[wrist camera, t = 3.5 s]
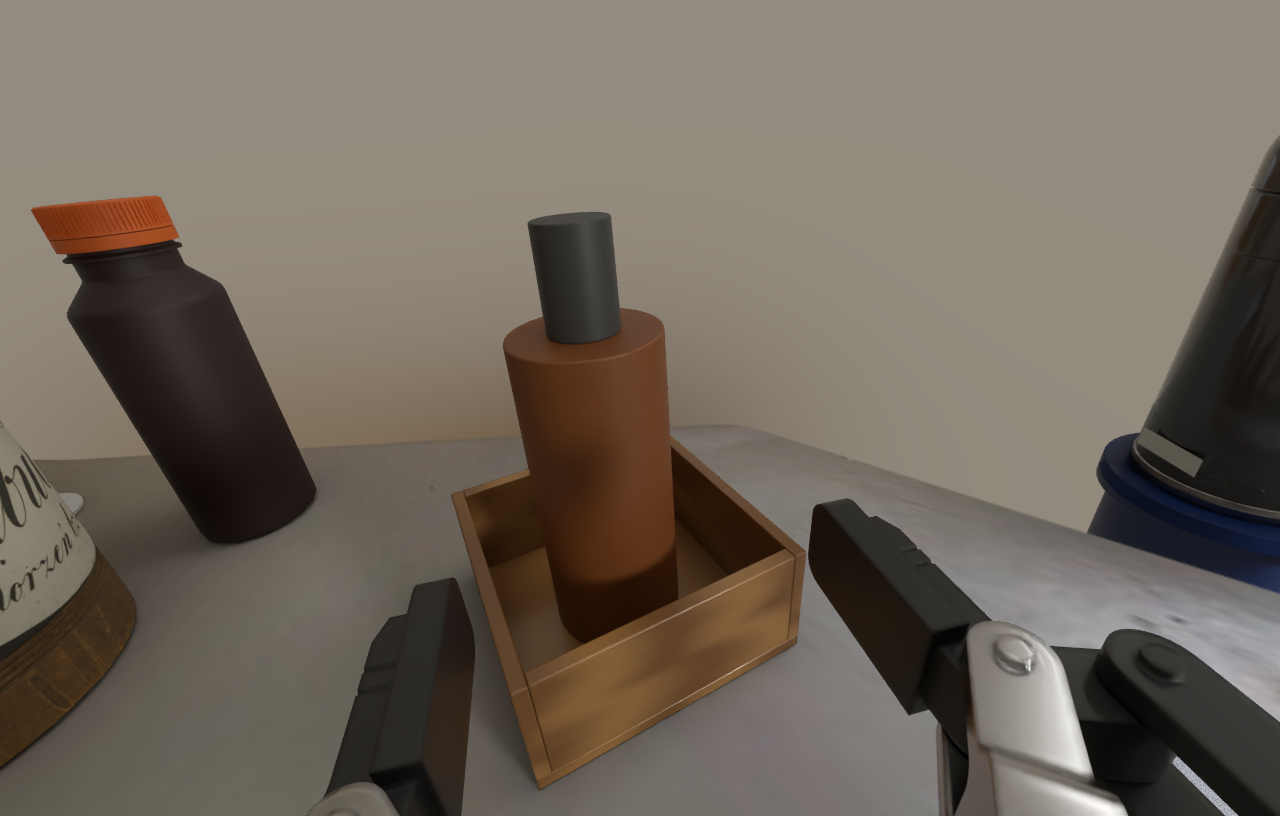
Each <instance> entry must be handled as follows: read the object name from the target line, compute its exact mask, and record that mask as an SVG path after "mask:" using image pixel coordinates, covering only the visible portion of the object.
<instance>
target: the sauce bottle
mask: <svg viewBox="0 0 1280 816" xmlns="http://www.w3.org/2000/svg"><path fill="white" fill-rule="evenodd" d="M528 229H529V235H530V241H531V247H532V253H533V259H534V265H535V271H536V277H537V283H538V289H539V295H540V301H541V307H542V313H543V317H541V318H538V319H535V320H532V321H530V322H527V323H525V324H523V325H521V326H519V327H517V328H516V329H514V330H513V331H511V332H510V333H509V334H508V335H507V336H506V338H505V339H504V342H503V349H504V354H505V359H506V364H507V368H508V373H509V378H510V383H511V387H512V392H513V397H514V401H515V406H516V411H517V415H518V420H519V425H520V430H521V434H522V439H523V444H524V449H525V453H526V458H527V463H528V468H529V472H530V477H531V482H532V487H533V491H534V496H535V501H536V506H537V510H538V515H539V520H540V524H541V529H542V534H543V539H544V543H545V548H546V553H547V558H548V562H549V567H550V572H551V576H552V581H553V586H554V591H555V595H556V600H557V605H558V610H559V614H560V617H561V620H562V622H563V624H564V626H565V627H566V629H567V630H568V631H569V632H570V633H571V634H572V635H573V636H574V637H575V638H577V639H578V640H580V641H581V642H583V643H585V644H586V643H588V642H590V641H592V640H594V639H596V638H598V637H600V636H603V635H605V634H607V633H609V632H611V631H613V630H615V629H617V628H619V627H622V626H624V625H626V624H628V623H630V622H632V621H634V620H636V619H638V618H640V617H643V616H645V615H647V614H649V613H651V612H653V611H655V610H657V609H659V608H661V607H664V606H666V605H668V604H670V603H672V602H674V601H676V600H678V596H679V594H678V575H677V556H676V537H675V519H674V500H673V481H672V462H671V443H670V424H669V406H668V386H667V368H666V349H665V330H664V325H663V323H662V322H661V321H660V320H659V319H658V318H657V317H655V316H653V315H651V314H648V313H645V312H642V311H637V310H631V309H623V308H619V297H618V287H617V276H616V265H615V256H614V245H613V234H612V223H611V216H610V214H608V213H603V212H579V213H568V214H558V215H551V216H545V217H540V218H536V219H533V220H531V221H529V222H528Z"/></svg>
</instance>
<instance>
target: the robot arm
mask: <svg viewBox="0 0 1280 816" xmlns="http://www.w3.org/2000/svg"><path fill="white" fill-rule="evenodd" d="M1251 185H1252V186H1253V187H1252V188H1250V189H1249V191H1248V194H1247V196H1246V198H1245V200H1244V203H1243V205H1242V207H1241V210H1240V212H1239V214H1238V216H1237V218H1236V220H1235V223H1234V225H1233V227H1232V229H1231V232H1230V234H1229V236H1228V238H1227V241H1226V243H1225V246H1224V248H1223V250H1222V253H1221V255H1220V257H1219V259H1218V262H1217V264H1216V266H1215V268H1214V270H1213V273H1212V275H1211V277H1210V279H1209V282H1208V284H1207V286H1206V288H1205V290H1204V293H1203V295H1202V297H1201V300H1200V302H1199V304H1198V306H1197V308H1196V311H1195V313H1194V315H1193V317H1192V319H1191V322H1190V324H1189V326H1188V329H1187V331H1186V333H1185V335H1184V338H1183V340H1182V342H1181V344H1180V346H1179V348H1178V351H1177V353H1176V355H1175V358H1174V360H1173V362H1172V364H1171V366H1170V368H1169V371H1168V373H1167V375H1166V377H1165V380H1164V382H1163V384H1162V386H1161V389H1160V391H1159V393H1158V395H1157V398H1156V400H1155V402H1154V404H1153V406H1152V408H1151V410H1150V412H1149V415H1148V417H1147V419H1146V421H1145V423H1144V426H1143V428H1142V430H1141V432H1140V435H1139V436H1138V437H1137V438H1136V439H1135V441H1134V443H1133V445H1132V448H1131V450H1130V452H1129V461H1130V463H1131V465H1132V467H1133V468H1134V469H1135V470H1136V471H1137V472H1138V473H1139V474H1140V475H1141V476H1142V477H1143V478H1144V479H1146V480H1147V481H1149V482H1150V483H1151V484H1153V485H1155V486H1156V487H1158V488H1160V489H1161V490H1163V491H1165V492H1167V493H1169V494H1171V495H1173V496H1175V497H1177V498H1179V499H1181V500H1183V501H1186V502H1188V503H1190V504H1193V505H1195V506H1198V507H1201V508H1203V509H1206V510H1209V511H1212V512H1215V513H1218V514H1221V515H1225V516H1228V517H1232V518H1235V519H1239V520H1243V521H1248V522H1252V523H1257V524H1262V525H1268V526H1274V527H1280V136H1278V138H1276V139H1275V140H1274V142H1273V143H1272V144H1271V146H1270V147H1269V149H1268V150H1267V152H1266V154H1265V156H1264V158H1263V160H1262V162H1261V164H1260V167H1259V169H1258V171H1257V174H1256V175H1255V178H1254V180H1253V182H1252V184H1251ZM808 559H809V565H810V569H811V572H812V574H813V577H814V579H815V580H816V582H817V584H818V585H819V586H820V588H821V589H822V591H823V592H824V594H825V595H826V597H827V598H828V599H829V601H830V602H831V604H832V605H833V607H834V608H835V610H836V611H837V612H838V614H839V615H840V617H841V618H842V620H843V621H844V623H845V624H846V625H847V627H848V628H849V630H850V631H851V633H852V634H853V636H854V637H855V638H856V640H857V641H858V643H859V644H860V646H861V647H862V649H863V650H864V651H865V653H866V654H867V656H868V657H869V659H870V660H871V661H872V663H873V664H874V666H875V667H876V669H877V670H878V672H879V673H880V674H881V676H882V677H883V679H884V680H885V682H886V683H887V685H888V686H889V687H890V689H891V690H892V692H893V693H894V695H895V696H896V698H897V699H898V700H899V702H900V703H901V705H902V706H903V708H904V709H905V711H906V712H907V713H908V715H911V714H915V713H919V712H922V711H926V710H929V709H930V711H931V712H932V714H933V715H934V716H935V718H936V719H937V720H938V724H937V727H936V746H937V772H938V799H939V816H1225V815H1224V814H1223V813H1222V812H1221V811H1220V810H1219V809H1218V808H1217V807H1216V806H1215V805H1214V804H1213V803H1212V802H1211V801H1210V800H1209V799H1208V798H1207V797H1206V796H1205V795H1204V794H1203V793H1202V792H1201V791H1200V790H1199V789H1198V788H1197V787H1196V786H1195V785H1194V784H1192V783H1191V782H1190V781H1189V780H1188V779H1187V778H1186V777H1185V776H1184V775H1183V774H1182V773H1181V772H1180V771H1179V770H1178V769H1177V768H1176V767H1175V766H1174V765H1173V764H1172V762H1173V760H1174V759H1175V758H1176V756H1178V757H1179V758H1180V759H1181V760H1182V761H1183V762H1184V763H1185V764H1186V765H1187V766H1188V767H1189V768H1190V769H1191V770H1192V771H1193V772H1194V773H1195V774H1196V775H1197V776H1198V777H1199V778H1201V779H1202V780H1203V781H1204V782H1205V783H1206V784H1207V785H1208V786H1209V787H1210V788H1211V789H1212V790H1213V791H1214V792H1215V793H1216V794H1217V795H1218V796H1219V797H1220V798H1221V799H1222V800H1223V801H1224V802H1225V803H1226V804H1227V805H1228V806H1229V807H1230V808H1231V809H1232V810H1233V811H1234V812H1235V813H1236V814H1238V815H1239V816H1280V722H1279V721H1278V720H1276V719H1275V718H1274V717H1272V716H1271V715H1270V714H1269V713H1267V712H1266V711H1265V710H1264V709H1262V708H1261V707H1260V706H1259V705H1257V704H1256V703H1255V702H1253V701H1252V700H1251V699H1250V698H1248V697H1247V696H1246V695H1245V694H1243V693H1242V692H1241V691H1240V690H1238V689H1237V688H1236V687H1234V686H1233V685H1232V684H1231V683H1229V682H1228V681H1227V680H1226V679H1224V678H1223V677H1222V676H1221V675H1219V674H1218V673H1217V672H1215V671H1214V670H1213V669H1212V668H1210V667H1209V666H1208V665H1207V664H1205V663H1204V662H1203V661H1202V660H1200V659H1199V658H1198V657H1196V656H1195V655H1194V654H1192V653H1191V652H1190V651H1188V650H1186V649H1185V648H1183V647H1182V646H1180V645H1178V644H1176V643H1174V642H1172V641H1170V640H1168V639H1166V638H1163V637H1161V636H1158V635H1156V634H1153V633H1149V632H1145V631H1141V630H1135V629H1121V630H1117V631H1114V632H1112V633H1111V634H1109V636H1108V637H1107V638H1106V640H1105V642H1104V644H1103V646H1102V648H1101V649H1086V648H1071V647H1056V646H1048V645H1047V644H1046V643H1045V642H1044V641H1043V640H1041V639H1040V638H1039V637H1037V636H1036V635H1034V634H1032V633H1031V632H1029V631H1027V630H1025V629H1023V628H1021V627H1018V626H1016V625H1013V624H1009V623H1005V622H1000V621H992V620H991V619H990V618H989V617H988V616H987V615H986V614H985V613H984V612H983V611H982V610H981V609H980V608H979V607H978V606H977V605H976V604H975V603H974V602H973V601H972V600H971V599H970V598H969V597H968V596H967V595H966V594H965V593H964V592H963V591H962V590H961V589H960V588H958V587H957V586H956V585H955V584H954V583H953V582H952V581H951V580H950V579H949V578H948V577H947V576H946V575H945V574H944V573H943V572H942V571H941V570H940V569H939V568H938V567H937V566H936V565H935V564H932V563H931V560H930V559H929V558H928V557H927V556H926V555H925V554H924V553H923V552H922V551H921V550H920V549H919V550H918V549H917V547H916V545H915V544H914V543H913V542H912V541H911V540H910V539H909V538H908V537H907V536H906V535H905V534H904V533H903V532H902V531H901V530H900V529H898V528H897V527H895V526H893V525H891V524H890V523H888V522H886V521H884V520H882V519H881V518H879V517H877V516H874V517H868V516H867V515H866V514H865V513H864V512H863V511H862V510H861V509H860V507H859V506H858V505H857V504H856V503H855V502H854V501H852V500H851V499H842V500H837V501H832V502H827V503H822V504H818V505H816V506H815V507H814V509H813V515H812V524H811V533H810V542H809V551H808ZM474 663H475V643H474V635H473V629H472V626H471V623H470V619H469V616H468V613H467V610H466V607H465V604H464V601H463V598H462V595H461V592H460V589H459V586H458V583H457V581H456V579H455V578H448V579H443V580H438V581H433V582H428V583H423V584H419V585H416V586H415V587H414V589H413V592H412V596H411V600H410V604H409V608H408V612H407V614H405V615H400V616H395V617H391V618H389V619H388V621H387V622H386V623H385V625H384V626H383V628H382V629H381V630H380V632H379V633H378V634H377V636H376V637H375V639H374V640H373V641H372V643H371V647H370V650H369V653H368V657H367V660H366V663H365V667H364V673H363V674H362V677H361V680H360V683H359V687H358V690H357V691H358V695H357V696H356V697H355V700H354V703H353V707H352V710H351V713H350V717H349V720H348V723H347V727H346V730H345V733H344V737H343V740H342V743H341V747H340V750H339V753H338V757H337V760H336V763H335V767H334V770H333V773H332V777H331V780H330V783H329V786H328V788H327V791H326V793H325V795H324V797H323V798H322V799H321V800H320V801H319V802H317V803H316V804H315V805H314V806H313V807H312V808H311V809H310V810H309V811H308V812H307V813H306V815H305V816H461V812H462V801H463V789H464V778H465V766H466V755H467V743H468V732H469V720H470V709H471V697H472V686H473V674H474Z"/></svg>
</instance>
